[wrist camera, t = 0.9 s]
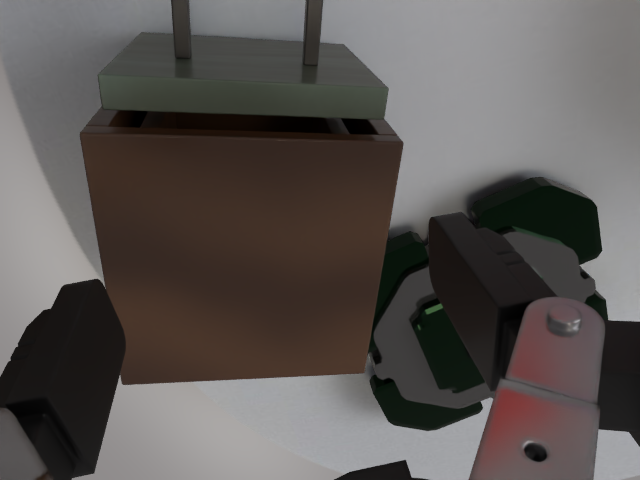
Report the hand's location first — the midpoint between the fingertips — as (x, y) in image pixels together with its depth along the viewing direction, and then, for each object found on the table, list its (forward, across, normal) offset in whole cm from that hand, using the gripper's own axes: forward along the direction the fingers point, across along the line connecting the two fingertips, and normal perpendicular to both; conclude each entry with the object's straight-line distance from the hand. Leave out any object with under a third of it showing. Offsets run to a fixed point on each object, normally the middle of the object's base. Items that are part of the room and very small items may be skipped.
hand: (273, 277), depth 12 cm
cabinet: (+17, +1, +4) cm, 18 cm away
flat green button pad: (+17, -13, +18) cm, 28 cm away
